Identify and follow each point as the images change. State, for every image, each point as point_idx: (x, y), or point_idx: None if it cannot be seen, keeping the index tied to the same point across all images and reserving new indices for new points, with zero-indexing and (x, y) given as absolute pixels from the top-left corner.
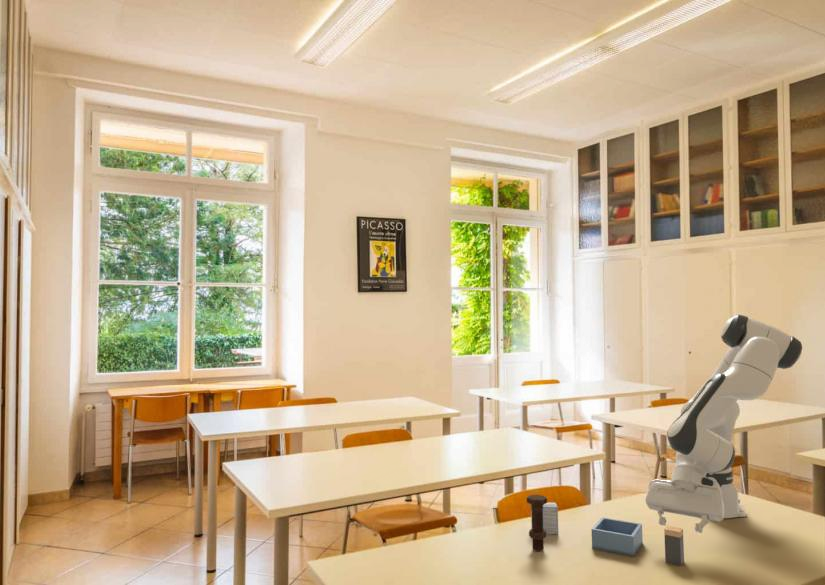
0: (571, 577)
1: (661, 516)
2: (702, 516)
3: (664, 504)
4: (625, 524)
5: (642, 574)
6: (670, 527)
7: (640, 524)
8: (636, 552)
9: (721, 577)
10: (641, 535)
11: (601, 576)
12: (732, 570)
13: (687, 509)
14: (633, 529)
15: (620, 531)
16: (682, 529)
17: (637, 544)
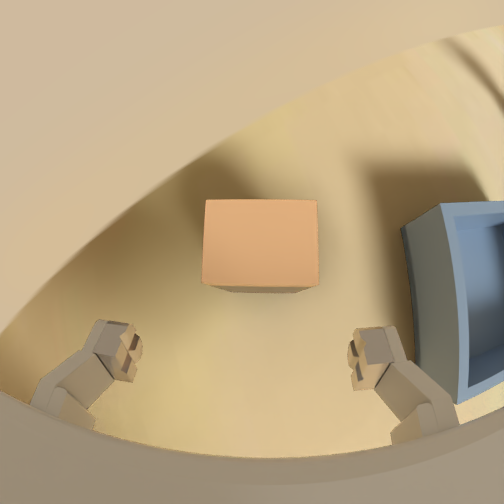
0: (420, 49)
1: (395, 362)
2: (57, 400)
3: (419, 452)
4: (499, 366)
5: (320, 112)
6: (289, 257)
7: (461, 391)
8: (409, 271)
9: (106, 234)
10: (433, 376)
11: (388, 66)
12: (87, 314)
13: (154, 453)
14: (468, 375)
15: (492, 357)
16: (202, 267)
17: (423, 292)
